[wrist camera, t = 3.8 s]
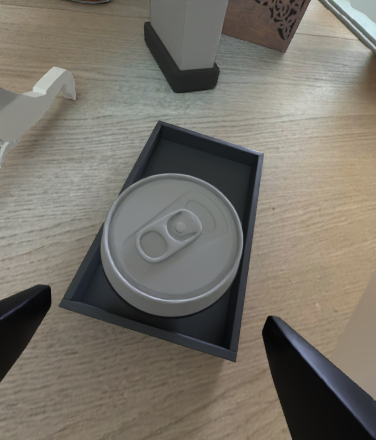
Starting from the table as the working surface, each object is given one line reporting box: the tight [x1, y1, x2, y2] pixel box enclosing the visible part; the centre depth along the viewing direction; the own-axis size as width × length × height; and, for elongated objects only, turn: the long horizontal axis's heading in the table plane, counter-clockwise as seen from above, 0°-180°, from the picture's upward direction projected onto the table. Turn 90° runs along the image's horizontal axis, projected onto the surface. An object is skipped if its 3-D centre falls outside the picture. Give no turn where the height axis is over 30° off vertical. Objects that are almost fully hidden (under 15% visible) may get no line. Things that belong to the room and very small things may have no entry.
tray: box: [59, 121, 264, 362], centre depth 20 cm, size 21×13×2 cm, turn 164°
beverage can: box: [100, 173, 243, 319], centre depth 12 cm, size 6×6×12 cm
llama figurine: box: [0, 66, 76, 169], centre depth 20 cm, size 2×11×18 cm
